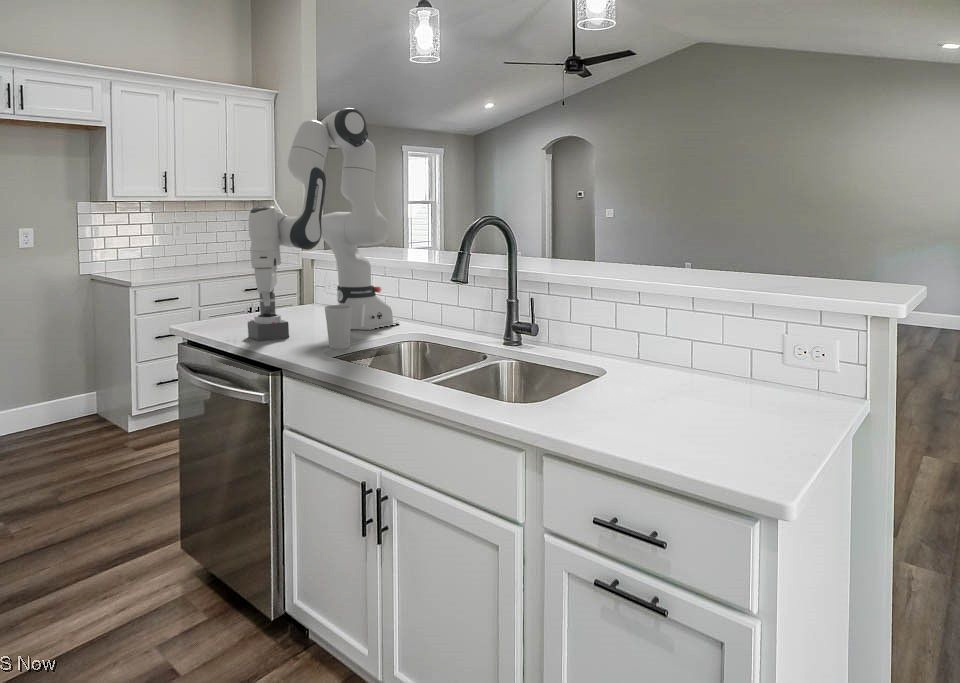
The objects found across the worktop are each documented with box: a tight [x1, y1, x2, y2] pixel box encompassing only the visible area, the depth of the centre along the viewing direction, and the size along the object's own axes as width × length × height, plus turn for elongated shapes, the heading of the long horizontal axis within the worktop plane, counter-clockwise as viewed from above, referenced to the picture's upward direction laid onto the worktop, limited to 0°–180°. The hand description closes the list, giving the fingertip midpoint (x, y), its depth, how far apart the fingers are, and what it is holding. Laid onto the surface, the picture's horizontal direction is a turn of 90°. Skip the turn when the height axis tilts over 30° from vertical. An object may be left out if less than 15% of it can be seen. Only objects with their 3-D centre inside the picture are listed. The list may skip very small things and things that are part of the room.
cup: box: [324, 304, 352, 350], centre depth 207 cm, size 8×8×12 cm
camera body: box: [247, 313, 290, 342], centre depth 220 cm, size 10×9×7 cm
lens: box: [259, 292, 277, 317], centre depth 219 cm, size 5×5×9 cm
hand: (269, 303), depth 219 cm, fingers open, 8 cm apart
